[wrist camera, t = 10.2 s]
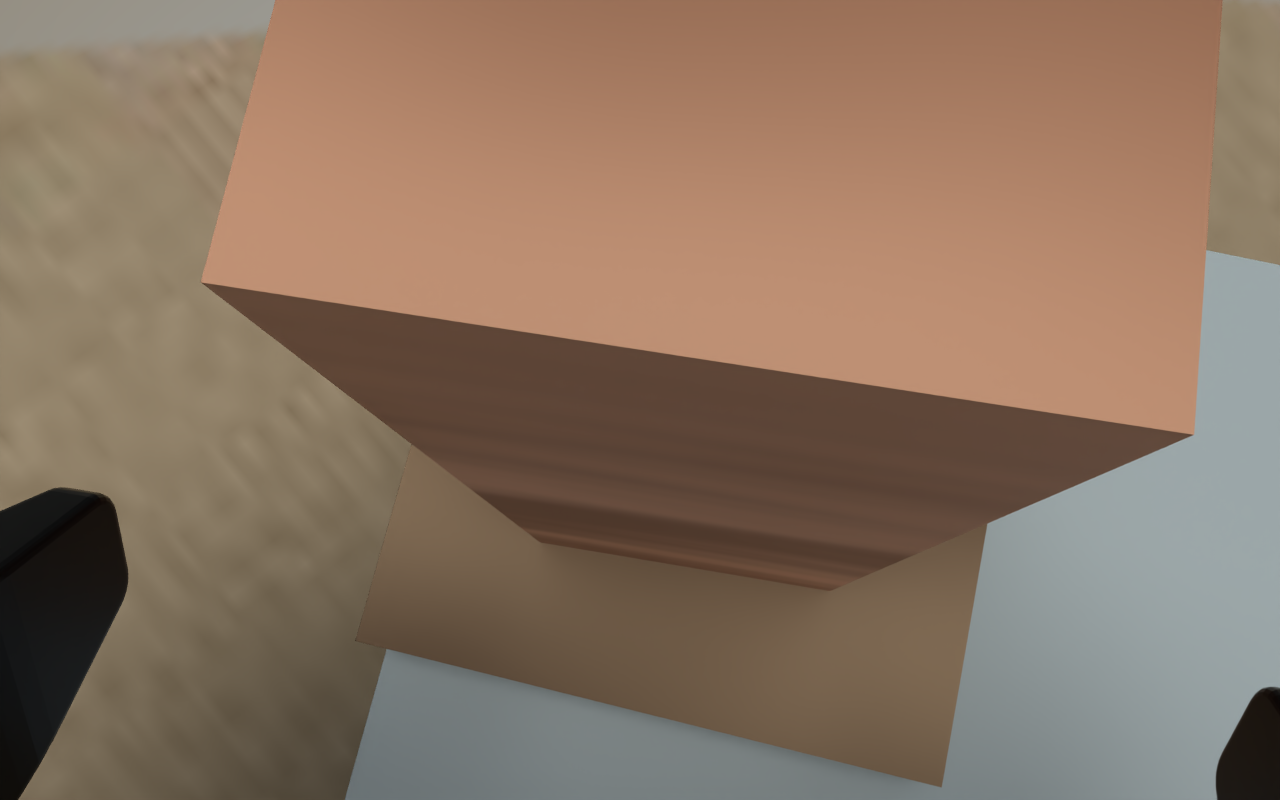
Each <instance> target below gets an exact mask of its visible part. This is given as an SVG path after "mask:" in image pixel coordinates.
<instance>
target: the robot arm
mask: <svg viewBox="0 0 1280 800" xmlns="http://www.w3.org/2000/svg"><path fill="white" fill-rule="evenodd" d="M127 585H128V567H127V562H126V557H125V552H124V548H123V543H122V538H121V533H120V528H119V523H118V518H117V513H116V509H115V506H114V504H113V502H112V501H111V500H110V498H109V497H107V496H105V495H103V494H101V493H96V492H90V491H84V490H78V489H72V488H54V489H51V490H48V491H46V492H43V493H41V494H39V495H37V496H34V497H32V498H30V499H27V500H25V501H23V502H20V503H18V504H16V505H14V506H11V507H9V508H7V509H4V510H2V511H0V800H18V799H19V797H20V796H21V794H22V793H23V791H24V789H25V788H26V786H27V785H28V783H29V781H30V780H31V778H32V776H33V775H34V773H35V771H36V770H37V768H38V767H39V765H40V763H41V761H42V759H43V758H44V756H45V754H46V752H47V750H48V748H49V747H50V745H51V743H52V741H53V739H54V737H55V735H56V733H57V731H58V729H59V727H60V725H61V723H62V722H63V720H64V718H65V716H66V714H67V712H68V710H69V708H70V706H71V704H72V702H73V700H74V698H75V696H76V694H77V692H78V690H79V688H80V686H81V684H82V682H83V680H84V678H85V676H86V674H87V672H88V670H89V668H90V666H91V664H92V662H93V660H94V658H95V656H96V654H97V652H98V650H99V648H100V646H101V644H102V642H103V640H104V638H105V636H106V634H107V632H108V630H109V628H110V626H111V624H112V622H113V620H114V618H115V616H116V614H117V612H118V610H119V608H120V606H121V604H122V602H123V600H124V597H125V594H126V590H127ZM1216 795H1217V800H1280V688H1279V687H1265V688H1262V689H1260V690H1259V691H1258V692H1256V693H1255V694H1254V696H1253V697H1252V699H1251V700H1250V702H1249V704H1248V706H1247V707H1246V709H1245V711H1244V713H1243V715H1242V717H1241V719H1240V720H1239V722H1238V724H1237V726H1236V728H1235V730H1234V731H1233V733H1232V735H1231V737H1230V739H1229V741H1228V743H1227V744H1226V746H1225V748H1224V750H1223V752H1222V754H1221V756H1220V758H1219V761H1218V765H1217V769H1216Z"/></svg>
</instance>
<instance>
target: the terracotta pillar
mask: <svg viewBox="0 0 1280 800" xmlns="http://www.w3.org/2000/svg"><path fill="white" fill-rule="evenodd" d="M1221 16H1222V0H275V4H274V9H273V12H272V16H271V20H270V23H269V27H268V31H267V34H266V38H265V42H264V46H263V50H262V53H261V57H260V61H259V65H258V68H257V72H256V76H255V80H254V84H253V87H252V91H251V95H250V99H249V102H248V106H247V110H246V114H245V118H244V121H243V125H242V129H241V133H240V136H239V140H238V144H237V148H236V152H235V155H234V159H233V163H232V167H231V170H230V174H229V178H228V182H227V186H226V189H225V193H224V197H223V201H222V204H221V208H220V212H219V216H218V219H217V223H216V227H215V231H214V235H213V238H212V242H211V246H210V250H209V253H208V257H207V261H206V265H205V269H204V272H203V276H202V280H201V283H203V284H204V285H205V286H206V287H208V288H209V289H210V290H212V291H213V292H214V293H216V294H217V295H218V296H219V297H221V298H222V299H223V300H225V301H226V302H227V303H229V304H230V305H231V306H232V307H234V308H235V309H236V310H238V311H239V312H240V313H242V314H243V315H244V316H246V317H247V318H248V319H249V320H251V321H252V322H253V323H255V324H256V325H257V326H259V327H260V328H261V329H262V330H264V331H265V332H266V333H268V334H269V335H270V336H272V337H273V338H274V339H276V340H277V341H278V342H279V343H281V344H282V345H283V346H285V347H286V348H287V349H289V350H290V351H291V352H292V353H294V354H295V355H296V356H298V357H299V358H300V359H302V360H303V361H304V362H305V363H307V364H308V365H309V366H311V367H312V368H313V369H315V370H316V371H317V372H319V373H320V374H321V375H322V376H324V377H325V378H326V379H328V380H329V381H330V382H332V383H333V384H334V385H335V386H337V387H338V388H339V389H341V390H342V391H343V392H345V393H346V394H347V395H349V396H350V397H351V398H352V399H354V400H355V401H356V402H358V403H359V404H360V405H362V406H363V407H364V408H365V409H367V410H368V411H369V412H371V413H372V414H373V415H375V416H376V417H377V418H378V419H380V420H381V421H382V422H384V423H385V424H386V425H388V426H389V427H390V428H392V429H393V430H394V431H395V432H397V433H398V434H399V435H401V436H402V437H403V438H405V439H406V440H407V441H408V442H410V443H411V444H412V445H414V446H415V447H416V448H418V449H419V450H420V451H422V452H423V453H424V454H425V455H427V456H428V457H429V458H431V459H432V460H433V461H435V462H436V463H437V464H438V465H440V466H441V467H442V468H444V469H445V470H446V471H448V472H449V473H450V474H451V475H453V476H454V477H455V478H457V479H458V480H459V481H461V482H462V483H463V484H465V485H466V486H467V487H468V488H470V489H471V490H472V491H474V492H475V493H476V494H478V495H479V496H480V497H481V498H483V499H484V500H485V501H487V502H488V503H489V504H491V505H492V506H493V507H495V508H496V509H497V510H498V511H500V512H501V513H502V514H504V515H505V516H506V517H508V518H509V519H510V520H511V521H513V522H514V523H515V524H517V525H518V526H519V527H521V528H522V529H523V530H524V531H526V532H527V533H528V534H530V535H531V536H532V537H534V538H535V539H536V540H538V541H539V542H541V543H547V544H553V545H559V546H565V547H570V548H576V549H582V550H588V551H594V552H600V553H606V554H612V555H618V556H624V557H630V558H636V559H642V560H648V561H654V562H660V563H666V564H672V565H678V566H684V567H690V568H696V569H702V570H708V571H714V572H720V573H726V574H732V575H738V576H744V577H750V578H755V579H761V580H767V581H773V582H779V583H785V584H791V585H797V586H803V587H809V588H815V589H821V590H827V591H831V590H834V589H836V588H838V587H841V586H843V585H845V584H848V583H850V582H852V581H855V580H857V579H859V578H862V577H864V576H866V575H869V574H871V573H873V572H876V571H878V570H880V569H883V568H885V567H887V566H890V565H892V564H894V563H897V562H899V561H901V560H904V559H906V558H908V557H911V556H913V555H915V554H918V553H920V552H922V551H925V550H927V549H929V548H932V547H934V546H936V545H939V544H941V543H943V542H946V541H948V540H950V539H953V538H955V537H957V536H960V535H962V534H964V533H967V532H969V531H971V530H974V529H976V528H978V527H981V526H983V525H985V524H987V523H990V522H992V521H994V520H997V519H999V518H1001V517H1004V516H1006V515H1008V514H1011V513H1013V512H1015V511H1018V510H1020V509H1022V508H1025V507H1027V506H1029V505H1032V504H1034V503H1036V502H1039V501H1041V500H1043V499H1046V498H1048V497H1050V496H1053V495H1055V494H1057V493H1060V492H1062V491H1064V490H1067V489H1069V488H1071V487H1074V486H1076V485H1078V484H1081V483H1083V482H1085V481H1088V480H1090V479H1092V478H1095V477H1097V476H1099V475H1102V474H1104V473H1106V472H1109V471H1111V470H1113V469H1116V468H1118V467H1120V466H1123V465H1125V464H1127V463H1130V462H1132V461H1134V460H1137V459H1139V458H1141V457H1144V456H1146V455H1148V454H1151V453H1153V452H1155V451H1158V450H1160V449H1162V448H1165V447H1167V446H1169V445H1172V444H1174V443H1176V442H1179V441H1181V440H1183V439H1186V438H1188V437H1190V436H1193V435H1194V430H1195V415H1196V399H1197V384H1198V369H1199V353H1200V338H1201V323H1202V307H1203V292H1204V277H1205V261H1206V246H1207V231H1208V215H1209V200H1210V184H1211V169H1212V154H1213V138H1214V123H1215V108H1216V92H1217V77H1218V62H1219V46H1220V31H1221Z"/></svg>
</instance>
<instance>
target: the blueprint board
mask: <svg viewBox="0 0 1280 800" xmlns="http://www.w3.org/2000/svg"><path fill="white" fill-rule="evenodd" d="M1265 687H1279V688H1280V265H1276V264H1272V263H1267V262H1262V261H1257V260H1252V259H1247V258H1242V257H1237V256H1232V255H1227V254H1222V253H1217V252H1213V251H1208V250H1206V261H1205V277H1204V292H1203V307H1202V323H1201V338H1200V353H1199V369H1198V384H1197V399H1196V415H1195V430H1194V435H1193V436H1190V437H1188V438H1186V439H1183V440H1181V441H1179V442H1176V443H1174V444H1172V445H1169V446H1167V447H1165V448H1162V449H1160V450H1158V451H1155V452H1153V453H1151V454H1148V455H1146V456H1144V457H1141V458H1139V459H1137V460H1134V461H1132V462H1130V463H1127V464H1125V465H1123V466H1120V467H1118V468H1116V469H1113V470H1111V471H1109V472H1106V473H1104V474H1102V475H1099V476H1097V477H1095V478H1092V479H1090V480H1088V481H1085V482H1083V483H1081V484H1078V485H1076V486H1074V487H1071V488H1069V489H1067V490H1064V491H1062V492H1060V493H1057V494H1055V495H1053V496H1050V497H1048V498H1046V499H1043V500H1041V501H1039V502H1036V503H1034V504H1032V505H1029V506H1027V507H1025V508H1022V509H1020V510H1018V511H1015V512H1013V513H1011V514H1008V515H1006V516H1004V517H1001V518H999V519H997V520H994V521H992V522H990V523H988V524H987V530H986V535H985V541H984V547H983V553H982V558H981V564H980V570H979V576H978V581H977V587H976V593H975V599H974V604H973V610H972V616H971V622H970V627H969V633H968V639H967V645H966V651H965V656H964V662H963V668H962V674H961V679H960V685H959V691H958V697H957V702H956V708H955V714H954V720H953V725H952V731H951V737H950V743H949V749H948V754H947V760H946V766H945V772H944V777H943V783H942V788H941V787H937V786H933V785H929V784H925V783H921V782H917V781H913V780H909V779H905V778H901V777H897V776H893V775H889V774H885V773H881V772H877V771H873V770H869V769H865V768H861V767H857V766H853V765H849V764H845V763H841V762H837V761H833V760H829V759H825V758H821V757H817V756H813V755H809V754H805V753H801V752H797V751H793V750H789V749H785V748H781V747H777V746H773V745H769V744H765V743H761V742H757V741H753V740H749V739H745V738H741V737H737V736H733V735H729V734H725V733H721V732H717V731H713V730H709V729H705V728H701V727H697V726H693V725H689V724H685V723H681V722H677V721H673V720H669V719H665V718H661V717H657V716H653V715H649V714H645V713H641V712H637V711H633V710H629V709H625V708H621V707H617V706H613V705H609V704H605V703H601V702H597V701H593V700H589V699H585V698H581V697H577V696H573V695H569V694H565V693H561V692H557V691H553V690H549V689H545V688H541V687H537V686H533V685H529V684H525V683H521V682H517V681H513V680H509V679H505V678H501V677H497V676H493V675H489V674H485V673H481V672H477V671H473V670H469V669H465V668H461V667H457V666H453V665H449V664H445V663H441V662H437V661H433V660H429V659H425V658H421V657H417V656H413V655H409V654H405V653H401V652H397V651H393V650H389V649H387V650H386V654H385V657H384V661H383V665H382V668H381V672H380V675H379V679H378V682H377V686H376V690H375V693H374V697H373V700H372V704H371V707H370V711H369V715H368V718H367V722H366V725H365V729H364V733H363V736H362V740H361V743H360V747H359V750H358V754H357V758H356V761H355V765H354V768H353V772H352V775H351V779H350V783H349V786H348V790H347V793H346V797H345V800H1217V795H1216V769H1217V765H1218V761H1219V758H1220V756H1221V754H1222V752H1223V750H1224V748H1225V746H1226V744H1227V743H1228V741H1229V739H1230V737H1231V735H1232V733H1233V731H1234V730H1235V728H1236V726H1237V724H1238V722H1239V720H1240V719H1241V717H1242V715H1243V713H1244V711H1245V709H1246V707H1247V706H1248V704H1249V702H1250V700H1251V699H1252V697H1253V696H1254V694H1255V693H1256V692H1258V691H1259V690H1260V689H1262V688H1265Z"/></svg>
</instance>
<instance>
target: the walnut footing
mask: <svg viewBox="0 0 1280 800" xmlns="http://www.w3.org/2000/svg"><path fill="white" fill-rule="evenodd" d="M987 524H988V523H987ZM987 524H985V525H983V526H981V527H978V528H976V529H974V530H971V531H969V532H967V533H964V534H962V535H960V536H957V537H955V538H953V539H950V540H948V541H946V542H943V543H941V544H939V545H936V546H934V547H932V548H929V549H927V550H925V551H922V552H920V553H918V554H915V555H913V556H911V557H908V558H906V559H904V560H901V561H899V562H897V563H894V564H892V565H890V566H887V567H885V568H883V569H880V570H878V571H876V572H873V573H871V574H869V575H866V576H864V577H862V578H859V579H857V580H855V581H852V582H850V583H848V584H845V585H843V586H841V587H838V588H836V589H834V590H831V591H827V590H821V589H815V588H809V587H803V586H797V585H791V584H785V583H779V582H773V581H767V580H761V579H755V578H750V577H744V576H738V575H732V574H726V573H720V572H714V571H708V570H702V569H696V568H690V567H684V566H678V565H672V564H666V563H660V562H654V561H648V560H642V559H636V558H630V557H624V556H618V555H612V554H606V553H600V552H594V551H588V550H582V549H576V548H570V547H565V546H559V545H553V544H547V543H541V542H539V541H538V540H536V539H535V538H534V537H532V536H531V535H530V534H528V533H527V532H526V531H524V530H523V529H522V528H521V527H519V526H518V525H517V524H515V523H514V522H513V521H511V520H510V519H509V518H508V517H506V516H505V515H504V514H502V513H501V512H500V511H498V510H497V509H496V508H495V507H493V506H492V505H491V504H489V503H488V502H487V501H485V500H484V499H483V498H481V497H480V496H479V495H478V494H476V493H475V492H474V491H472V490H471V489H470V488H468V487H467V486H466V485H465V484H463V483H462V482H461V481H459V480H458V479H457V478H455V477H454V476H453V475H451V474H450V473H449V472H448V471H446V470H445V469H444V468H442V467H441V466H440V465H438V464H437V463H436V462H435V461H433V460H432V459H431V458H429V457H428V456H427V455H425V454H424V453H423V452H422V451H420V450H419V449H418V448H416V447H415V446H414V445H412V444H411V447H410V451H409V454H408V458H407V461H406V465H405V468H404V472H403V475H402V479H401V482H400V486H399V489H398V493H397V496H396V500H395V503H394V507H393V510H392V514H391V517H390V521H389V524H388V528H387V531H386V535H385V538H384V542H383V545H382V549H381V552H380V556H379V559H378V563H377V566H376V570H375V573H374V577H373V580H372V584H371V587H370V591H369V594H368V598H367V601H366V605H365V608H364V612H363V615H362V619H361V622H360V626H359V629H358V633H357V636H356V640H355V641H357V642H361V643H365V644H369V645H373V646H377V647H381V648H385V649H389V650H393V651H397V652H401V653H405V654H409V655H413V656H417V657H421V658H425V659H429V660H433V661H437V662H441V663H445V664H449V665H453V666H457V667H461V668H465V669H469V670H473V671H477V672H481V673H485V674H489V675H493V676H497V677H501V678H505V679H509V680H513V681H517V682H521V683H525V684H529V685H533V686H537V687H541V688H545V689H549V690H553V691H557V692H561V693H565V694H569V695H573V696H577V697H581V698H585V699H589V700H593V701H597V702H601V703H605V704H609V705H613V706H617V707H621V708H625V709H629V710H633V711H637V712H641V713H645V714H649V715H653V716H657V717H661V718H665V719H669V720H673V721H677V722H681V723H685V724H689V725H693V726H697V727H701V728H705V729H709V730H713V731H717V732H721V733H725V734H729V735H733V736H737V737H741V738H745V739H749V740H753V741H757V742H761V743H765V744H769V745H773V746H777V747H781V748H785V749H789V750H793V751H797V752H801V753H805V754H809V755H813V756H817V757H821V758H825V759H829V760H833V761H837V762H841V763H845V764H849V765H853V766H857V767H861V768H865V769H869V770H873V771H877V772H881V773H885V774H889V775H893V776H897V777H901V778H905V779H909V780H913V781H917V782H921V783H925V784H929V785H933V786H937V787H941V788H942V783H943V777H944V772H945V766H946V760H947V754H948V749H949V743H950V737H951V731H952V725H953V720H954V714H955V708H956V702H957V697H958V691H959V685H960V679H961V674H962V668H963V662H964V656H965V651H966V645H967V639H968V633H969V627H970V622H971V616H972V610H973V604H974V599H975V593H976V587H977V581H978V576H979V570H980V564H981V558H982V553H983V547H984V541H985V535H986V530H987Z"/></svg>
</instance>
